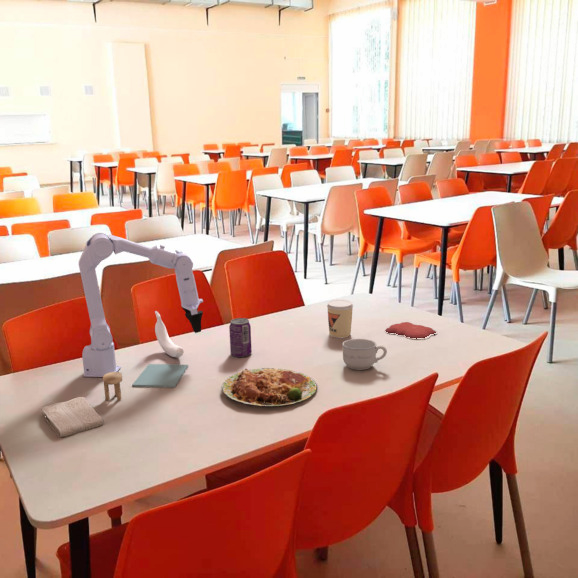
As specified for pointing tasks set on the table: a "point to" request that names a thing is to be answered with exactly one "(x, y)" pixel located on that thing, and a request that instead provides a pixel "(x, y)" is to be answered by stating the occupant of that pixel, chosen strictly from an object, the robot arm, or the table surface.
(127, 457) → the table surface
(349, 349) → the teacup
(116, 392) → the tan piece
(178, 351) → the banana
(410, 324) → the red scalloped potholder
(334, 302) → the coffee cup
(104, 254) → the robot arm
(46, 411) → the washcloth
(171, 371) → the mat
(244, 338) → the beverage can
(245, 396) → the rice dish
